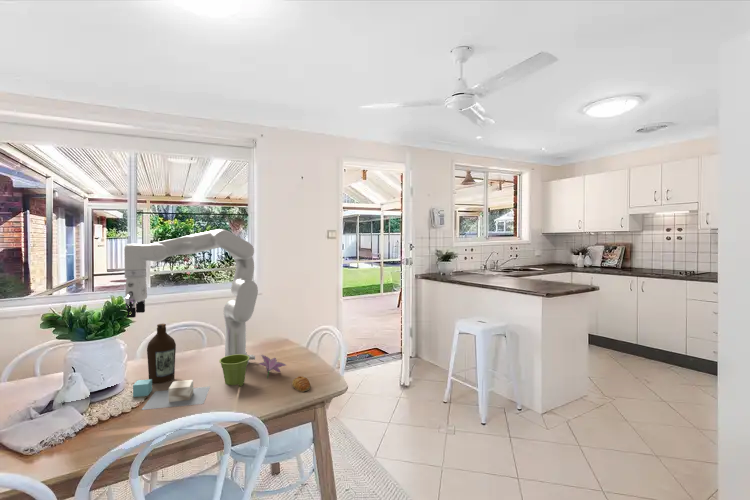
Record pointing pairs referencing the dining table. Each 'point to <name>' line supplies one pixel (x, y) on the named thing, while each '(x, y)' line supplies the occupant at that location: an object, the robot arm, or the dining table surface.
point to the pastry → (301, 384)
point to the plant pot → (234, 368)
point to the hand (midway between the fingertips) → (135, 314)
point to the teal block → (142, 388)
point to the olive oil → (161, 356)
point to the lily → (271, 364)
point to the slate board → (162, 401)
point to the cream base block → (180, 390)
